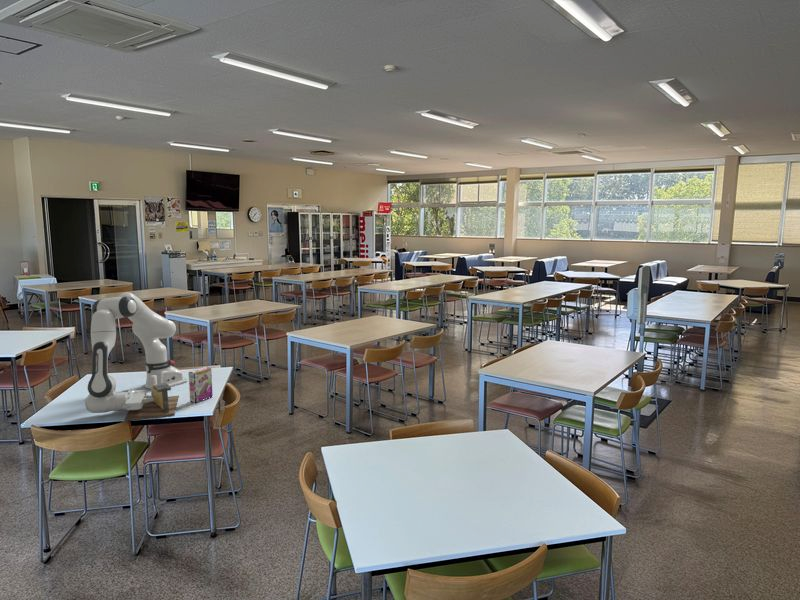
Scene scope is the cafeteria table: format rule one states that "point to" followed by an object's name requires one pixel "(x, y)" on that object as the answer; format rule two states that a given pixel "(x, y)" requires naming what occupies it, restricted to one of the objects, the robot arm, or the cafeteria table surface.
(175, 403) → the pintle board
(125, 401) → the robot arm
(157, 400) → the yellow rectangular slab
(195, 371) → the candy bar box
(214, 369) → the cafeteria table surface
